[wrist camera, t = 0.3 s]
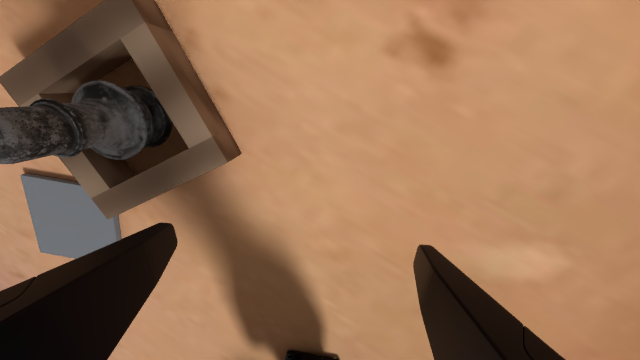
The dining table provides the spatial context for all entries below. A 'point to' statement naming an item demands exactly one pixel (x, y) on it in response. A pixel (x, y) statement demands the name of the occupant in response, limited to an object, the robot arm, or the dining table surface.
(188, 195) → the dining table surface
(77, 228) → the coaster
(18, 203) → the dining table surface
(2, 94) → the dining table surface
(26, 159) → the grey chess piece
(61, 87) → the collar
